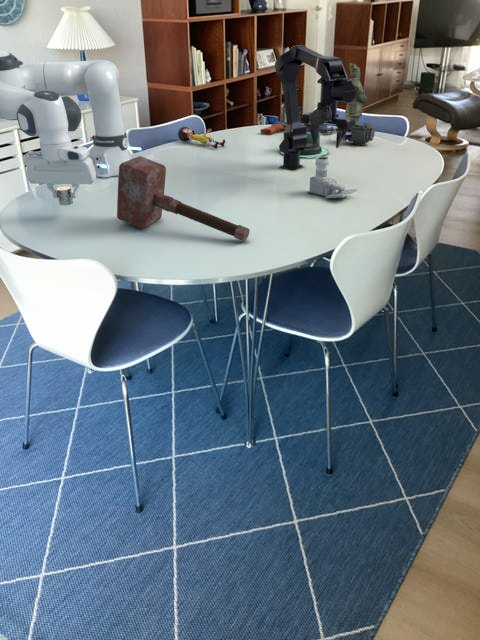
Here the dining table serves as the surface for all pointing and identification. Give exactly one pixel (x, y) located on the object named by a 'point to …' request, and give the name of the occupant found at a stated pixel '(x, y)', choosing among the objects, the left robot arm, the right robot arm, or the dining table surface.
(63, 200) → the can
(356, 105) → the statue
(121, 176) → the sledgehammer
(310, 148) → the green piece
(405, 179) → the dining table surface
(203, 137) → the figurine
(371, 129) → the toy
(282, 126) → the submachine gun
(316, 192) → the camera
